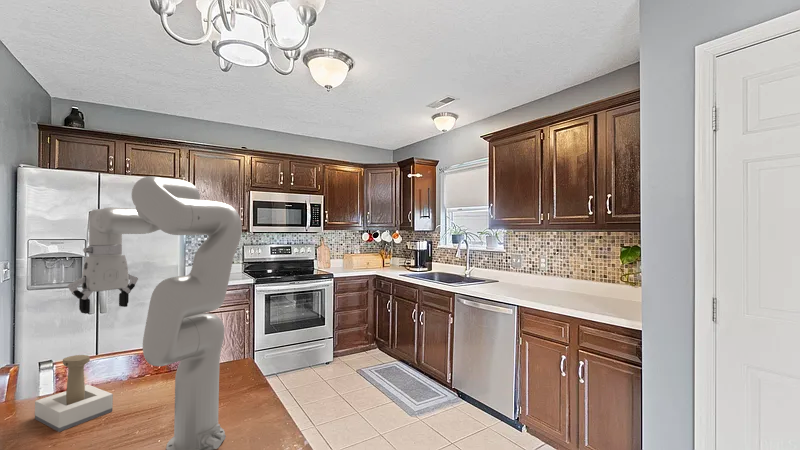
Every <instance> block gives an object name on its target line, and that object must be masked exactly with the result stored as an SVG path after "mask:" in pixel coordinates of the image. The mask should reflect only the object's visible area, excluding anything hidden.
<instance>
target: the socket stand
mask: <svg viewBox="0 0 800 450" xmlns="http://www.w3.org/2000/svg"><path fill="white" fill-rule="evenodd" d="M113 397H114V394H113V393H111V392H108V391H106V390H104V389H100V388H98V387H96V386H93V385H91V384H88V383H87V384H85V395H84V400H82V401H79V402H76V403H73V404H70V405H67V402H66V390H65V391H63V392H59V393H56V394H52V395H49V396H46V397H43V398H39V399H37V400H34V420H35V421H38V422H40V423H41V424H44V425H45V426H46V427H47V426H48V427H49V428H51V429H52V430H54V431H56V432H58V433H60V432H62V431H65V430H68V429H70V428H73V427H76V426H78V425H80V424H83V423H86V422H89V421H91V420H93V419H96V418H99V417H102V416H105V415H106V414H109V413H112V412H113V405H114V403H113V402H114V401H113V399H114V398H113Z"/></svg>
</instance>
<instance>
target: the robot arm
mask: <svg viewBox="0 0 800 450" xmlns="http://www.w3.org/2000/svg"><path fill="white" fill-rule="evenodd" d="M131 201H132V203H133V205H134V207H135V208H132V207H113V206H112V207H104V208H95V209H92V210H90V212H89V216H88V217H89V223H88V225H89V227H88V235H89V236H88V240H89V241H88V246H87V247H84V248H83V250H82V251H83V253H84V254H85V253H87V255H88V256H85V260H84V263H83V268H82V276H81V277H80V278H78V279H76V280H75V281H72V282H71V283H69V284H67V288H68V290H69V291H70V292H71V294H72V295H73V296H74V297H76V298H77V299H79V301H78V303H79V304H78V305H79V307H78V309H79V311H80V314H81V313H82V314H90V312H91V310H90V309H91V308H90V307H91V306H90V305H91V304H90V303H91V302H90V301H91V300H90V298H89V297H90V295H92V293H93V292H94V293H95V292H96V293H97V292H105V291H113V290H119V291H120V292H119V294H118V306H119V307H123V308H127V307H128V304H129V294H130V293H131V292H132V290H133V289H134V288H135V287H136V285H137V282H138V280H139V277H136V276H134V275H132V274H129V269H128V268H129V267H128V262H127V258H126V255H125V254H122V253H123V251H122V250H123V235H146V234H151V233H155V232H157V231H162V232H164V233H165V234H168V235H173V236H206V235H207V238H206V239H205V240H204V241H203V242H202V244H201V245H200V246H199V248H197V250H196V252H195V254H194V256H193V261H192V266H191V270H190V272H189V273H188V274H186V275H179V276H172V277H168V278H165V279H163V280H161V281H160V282H158V284H157V285H156V286H155V288H153V291H152V292H151V293H152V294H151V297H150V301H149V306H148V310H147V316H146V322H145V326H144V331H143V332H144V333H143V339H142V354H143V357H144V360H145V361H146V362H147V363H148V364H149V365H151V366H153V367H164V366H168V365H171V364H175V363H177V362H179V364H178V366H177V369H176V371H175V379H174V380H175V381H174V419H173V421H174V427H173V429H174V430H173V432H174V433H173V437H172V438H170V439H169V440H168V442H167V444H166V446H165V450H217V449H219V447H221V444H222V443H223V441H225V440H226V437H227V436H226V434H225V433H226V432H225V429H224V428H222V426H221V424H220V423H219V408H220V407H219V399H220V397H219V396H220V395H219V394H220V362H221V361H220V359H221V353H222V347H223V343H224V338H225V324H224V323H223V319H221V318H220V317H219V316H218V315H216V314H213V313H210V312H213V311H216V310H218V309H219V308H221V307H222V306H223V304H224V301H225V299H226V294H227V290H228V287H229V286H228V285H229V283H230V277H231V271H232V267H233V262H234V257H235V256H236V255H235V254H236V253H237V252H236V251H237V249H238V247H239V244H240V241H241V238H242V233H243V225H242V220H241V216H240V214H239V212H238V211H237V210H236V208H235V207H233V206H232V205H230V204H228V203H225V202H221V201H217V200H216V201H215V200H207V199H201V193H200V191H199V189H198V188H197V186H195V185H194V184H193V183H191V182H189V181H186V180H183V179H182V180H181V179H175V178H169V177H160V176H154V175H153V176H152V175H151V176H145V177H142V178H140V179H138V180H137V181H136V182H135V183H134V185H133V186H132V190H131ZM80 285H81V288H82V290H81V291H80V290H79V289H78V287H79V286H80Z"/></svg>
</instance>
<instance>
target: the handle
mask: <svg viewBox="0 0 800 450" xmlns="http://www.w3.org/2000/svg"><path fill="white" fill-rule="evenodd" d="M90 360H91V358H90V356H89V355H86V354H78V355H77V354H75V355H71V356H67V357H64V358H62V365H63V366H64V367H66V368H68V369H67V370H68V372H67V380H66V381H67V383H66V390H65V391H66V402H67V405H70V404H73V403H76V402H79V401H82V400H84V395H85V385H86V384H85V383H86V382H85V365H86V364H88V363H90V362H91V361H90Z"/></svg>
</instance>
